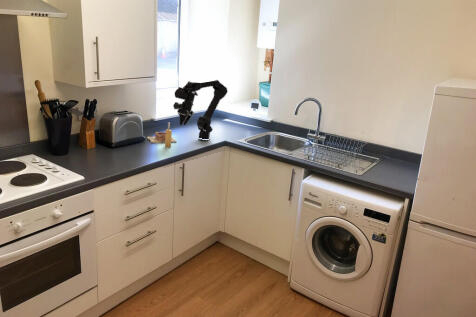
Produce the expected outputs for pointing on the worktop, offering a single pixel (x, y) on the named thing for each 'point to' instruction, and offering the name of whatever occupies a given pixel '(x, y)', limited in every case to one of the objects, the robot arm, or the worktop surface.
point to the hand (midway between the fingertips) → (182, 125)
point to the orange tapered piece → (168, 136)
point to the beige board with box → (159, 138)
